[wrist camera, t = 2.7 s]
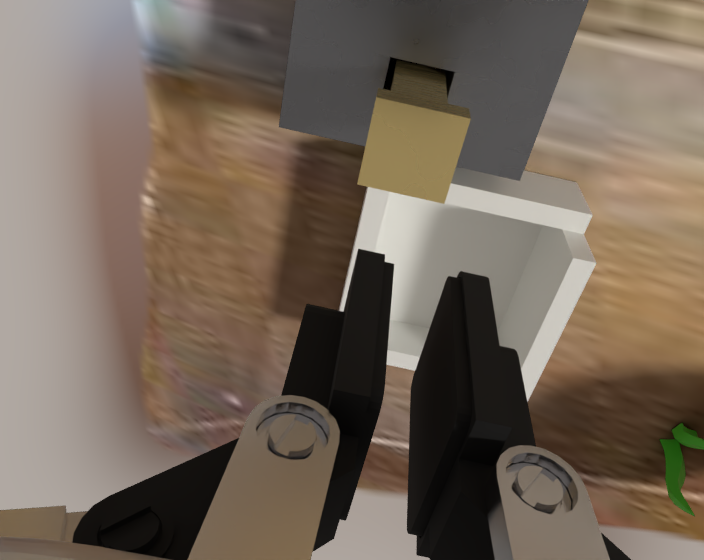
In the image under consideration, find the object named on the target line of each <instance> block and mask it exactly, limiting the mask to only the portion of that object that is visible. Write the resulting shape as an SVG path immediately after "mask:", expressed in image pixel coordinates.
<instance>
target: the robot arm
mask: <svg viewBox="0 0 704 560" xmlns="http://www.w3.org/2000/svg"><path fill="white" fill-rule="evenodd" d="M393 275H394V264H392V263H388V262H385V254H381V253H376V252H372V251H367V250H363V249H358V252H357V256H356V260H355V264H354V269H353V273H352V277H351V281H350V286H349V290H348V294H347V298H346V303H345V307H344V311H343V312H342V311H337V310H333V309H328V308H324V307H319V306H314V305H310V304H307V305H306V308H305V311H304V315H303V319H302V322H301V326H300V329H299V333H298V337H297V340H296V344H295V348H294V351H293V355H292V359H291V362H290V366H289V369H288V373H287V377H286V380H285V384H284V388H283V391H282V395H281V396H276V397H273V398H270V399H267V400H265V401H263V402H262V403H260V404H259V405H258V406H256V407H255V408H254V409H253V411H252V412H251V414H250V415H249V417H248V419H247V421H246V423H245V426H244V428H243V430H242V433H241V435H240V437H239V438H238V439H236V440H233V441H231V442H229V443H227V444H224V445H222V446H220V447H218V448H216V449H213V450H211V451H209V452H207V453H204V454H202V455H200V456H198V457H195V458H193V459H191V460H189V461H186V462H185V463H183V464H180V465H178V466H175V467H173V468H171V469H169V470H167V471H164V472H162V473H160V474H158V475H155V476H153V477H151V478H149V479H146V480H144V481H142V482H140V483H137V484H135V485H133V486H131V487H128V488H126V489H124V490H122V491H119V492H117V493H115V494H113V495H110V496H109V497H107V498H105V499H103V500H102V501H100V502H99V503H97V504H95V505H94V506H93V507H92V508H91V509H90V510H89V511H85V512H71V513H66V506H54V507H39V508H25V509H10V510H0V560H311V556H312V552H313V551H315V550H316V549H318V548H319V547H321V546H323V545H324V544H326V543H327V542H329V541H330V540H332V539H334V536H335V533H336V529H337V526H338V523H339V520H340V519H341V520H346V518H347V516H348V512H349V509H350V506H351V503H352V500H353V496H354V493H355V490H356V487H357V484H358V480H359V477H360V474H361V471H362V468H363V464H364V461H365V458H366V455H367V452H368V448H369V445H370V442H371V439H372V436H373V432H374V429H375V426H376V423H377V420H378V416H379V413H380V409H381V405H382V400H383V395H384V387H385V376H386V363H387V350H388V338H389V325H390V312H391V300H392V287H393ZM407 531H408V533H409V534H413V535H417V555H419V556H424V557H428V558H430V559H431V560H631V559H630V558H628V556H626V555H625V554H624V553H623V552H622V551H621V550H620V549H619V548H617V547H616V546H615V545H614V544H613V543H612V542H611V541H610V540H609V539H608V538H606V537H605V536H604V535H603V534H602V533H601V531H600V529H599V526H598V523H597V520H596V517H595V514H594V511H593V508H592V505H591V502H590V499H589V496H588V493H587V490H586V488H585V486H584V484H583V482H582V480H581V478H580V476H579V475H578V474H577V473H576V471H575V470H574V469H573V468H572V467H571V466H570V465H569V464H568V463H567V462H565V461H564V460H563V459H562V458H560V457H559V456H557V455H555V454H553V453H551V452H549V451H548V450H546V449H542V448H539V447H536V444H535V439H534V434H533V429H532V424H531V418H530V413H529V408H528V403H527V398H526V392H525V387H524V382H523V377H522V372H521V366H520V361H519V356H518V353H517V351H516V350H515V349H512V348H508V347H503V346H500V345H499V338H498V332H497V326H496V319H495V313H494V307H493V300H492V294H491V287H490V281H489V278H488V277H485V276H481V275H476V274H472V273H467V272H463V271H460V272H459V274H458V276H457V278H456V277H452V276H448V278H447V279H446V282H445V285H444V288H443V291H442V294H441V297H440V300H439V302H438V305H437V308H436V311H435V314H434V317H433V320H432V323H431V326H430V329H429V332H428V335H427V338H426V341H425V344H424V347H423V350H422V352H421V355H420V358H419V361H418V364H417V367H416V370H415V373H414V376H413V381H412V386H411V402H410V438H409V473H408V509H407Z"/></svg>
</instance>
